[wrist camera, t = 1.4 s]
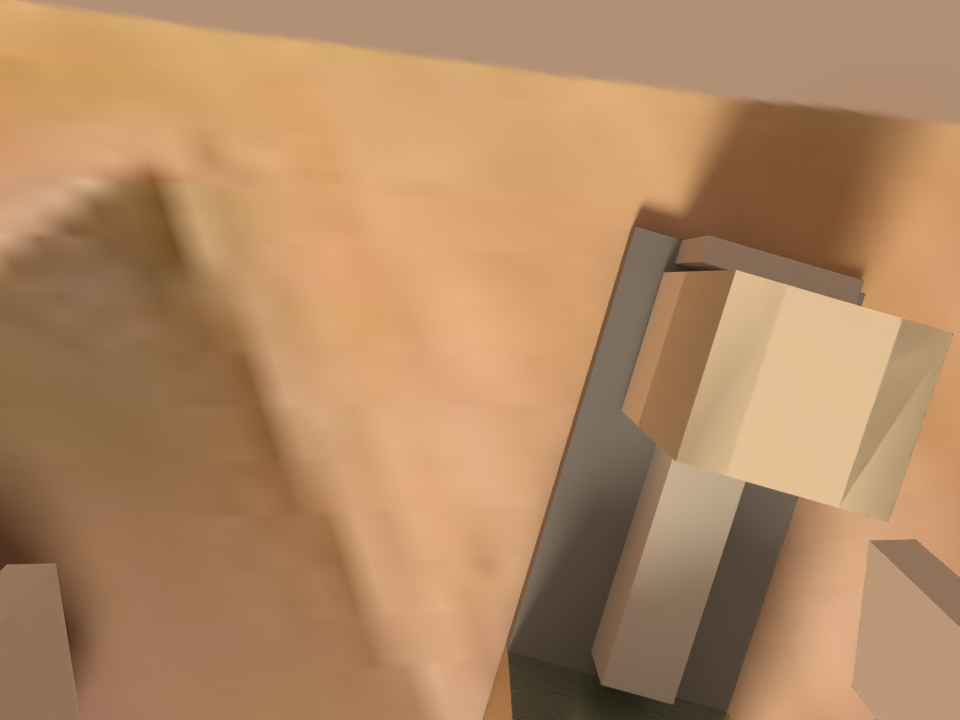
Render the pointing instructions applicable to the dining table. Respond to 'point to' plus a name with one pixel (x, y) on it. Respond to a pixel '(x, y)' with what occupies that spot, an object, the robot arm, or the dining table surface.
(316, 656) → the dining table surface
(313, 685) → the dining table surface
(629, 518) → the grey slide base
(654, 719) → the green square holder
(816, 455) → the block
